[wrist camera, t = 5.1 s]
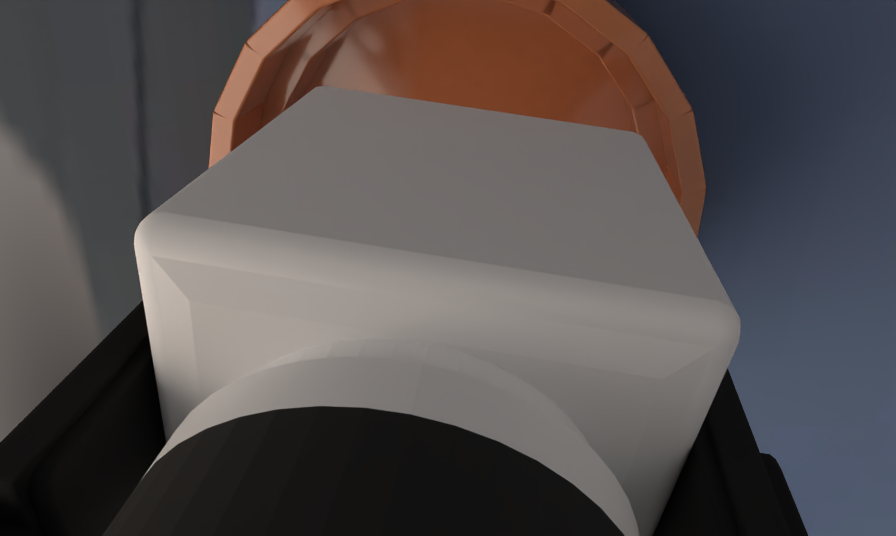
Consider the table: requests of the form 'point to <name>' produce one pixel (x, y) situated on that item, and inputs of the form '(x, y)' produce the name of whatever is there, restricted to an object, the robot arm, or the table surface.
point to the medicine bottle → (425, 330)
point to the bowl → (472, 70)
